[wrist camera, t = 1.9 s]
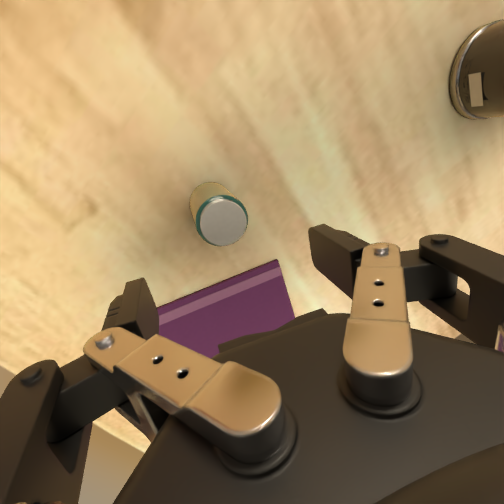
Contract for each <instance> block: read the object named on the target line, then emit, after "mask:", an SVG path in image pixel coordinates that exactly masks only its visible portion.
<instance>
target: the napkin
mask: <svg viewBox="0 0 504 504" xmlns="http://www.w3.org/2000/svg"><path fill="white" fill-rule="evenodd" d="M157 311H158V315H159V335H161V336H163V337H165V338H167V339H169V340H171V341H174V342H176V343H178V344H180V345H182V346H184V347H187V348H189V349H191V350H193V351H195V352H197V353H200V354H202V355H204V356H206V357H208V358H210V359H211V358H212V357H214V356H215V355H217V354H218V353H220V352H219V348H218V344H221V343H224V342H227V341H230V340H233V339H236V338H238V337H241V336H244V335H250V334H255V333H261V332H267V331H273V330H275V329H277V328H279V327H281V326H283V325H284V324H286V323H288V322H290V321H291V320H293V319H295V316H294V313H293V309H292V306H291V303H290V299H289V296H288V293H287V289H286V286H285V283H284V279H283V276H282V272H281V268H280V266H279V263H278V260H277V259H276V260H273V261H271V262H268V263H266V264H263V265H261V266H259V267H256V268H254V269H251V270H249V271H246V272H244V273H241V274H239V275H236V276H234V277H231V278H229V279H227V280H224V281H222V282H219V283H217V284H214V285H212V286H209V287H207V288H204V289H202V290H200V291H197V292H195V293H192V294H190V295H187V296H185V297H182V298H180V299H177V300H175V301H172V302H170V303H168V304H165V305H163V306H160V307H158V308H157Z"/></svg>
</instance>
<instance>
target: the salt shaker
mask: <svg viewBox="0 0 504 504" xmlns="http://www.w3.org/2000/svg"><path fill="white" fill-rule="evenodd" d="M190 209H191V212H192V216H193V219H194V222H195V225H196V228H197V231H198V233H199V235H200V236H201V237H202V239H203V240H205V241H206V242H207V243H209V244H212V245H215V246H227V245H231V244H233V243H235V242H236V241H238V240H239V239H240V238H241V237H242V235H243V234H244V232H245V230H246V228H247V224H248V215H247V211H246V209H245V207H244V205H243V204H242V203H241V202H240V201H239V200H238V199H237V198H236V197H235V196H234V195H233V194H231V193H230V192H229V191H228V190H227V189H226V188H225V187H224V186H222V185H221V184H218V183H215V182H207V183H203V184H201V185H199V186H198V187H197V188H196V189H195V190H194V191H193V192H192V194H191V197H190Z"/></svg>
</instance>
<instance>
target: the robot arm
mask: <svg viewBox="0 0 504 504" xmlns="http://www.w3.org/2000/svg"><path fill="white" fill-rule="evenodd" d="M450 94H451V99H452V102H453V104H454V106H455V108H456V110H457V111H458V112H459V113H460V114H461V115H462V116H464V117H466V118H469V119H486V118H490V117H504V20H499V21H495V22H492V23H490V24H487V25H484V26H482V27H480V28H479V29H477V30H476V31H475V32H473V33H472V34H471V35H470V36H469V37H468V38H467V40H466V41H465V42H464V44H463V45H462V47H461V48H460V50H459V52H458V54H457V56H456V58H455V61H454V64H453V67H452V71H451V77H450ZM308 234H309V241H310V249H311V256H312V261H313V264H314V266H315V267H316V269H317V270H319V271H320V272H321V273H322V274H323V275H324V276H325V277H327V278H328V279H329V280H330V281H331V282H332V283H334V284H335V285H336V286H337V287H338V288H339V289H340V290H342V291H343V292H344V293H345V294H346V295H347V296H349V297H350V298H351V299H352V307H351V313H350V314H346V313H335V314H327V313H326V311H325V310H324V309H323V308H321V309H318V310H316V311H313V312H310V313H307V314H304V315H301V316H298V317H296V318H295V319H293V320H291V321H290V322H288V323H286V324H284V325H283V326H281V327H279V328H277V329H275V330H273V331H267V332H261V333H255V334H250V335H244V336H241V337H238V338H236V339H233V340H230V341H227V342H224V343H221V344H218V348H219V352H220V353H218V354H217V355H215V356H214V357H212V358H211V359H210V358H208V357H206V356H204V355H202V354H200V353H197V352H195V351H193V350H191V349H189V348H187V347H184V346H182V345H180V344H178V343H176V342H174V341H171V340H169V339H167V338H165V337H163V336H161V335H159V315H158V311H157V308H156V305H155V302H154V300H153V297H152V295H151V292H150V290H149V287H148V285H147V282H146V280H145V279H144V278H140V279H136V280H133V281H129V282H127V283H126V285H125V289H124V293H123V295H120V296H117V297H116V298H115V299H114V300H113V301H112V302H111V304H110V306H109V309H108V312H107V315H106V318H105V322H104V325H103V328H102V331H101V332H99V333H97V334H96V335H94V336H93V337H91V338H90V339H89V340H88V341H87V342H86V344H85V345H84V347H83V352H84V355H83V356H81V357H80V358H78V359H76V360H74V361H72V362H70V363H68V364H66V365H64V366H63V367H61V368H59V366H58V364H57V363H56V361H54V360H44V361H40V362H37V363H35V364H33V365H31V366H29V367H27V368H26V369H24V370H23V371H21V372H20V373H19V374H17V375H16V376H15V377H14V378H13V379H12V380H11V381H10V383H9V384H8V386H7V388H6V389H5V391H4V393H3V395H2V396H1V398H0V504H78V500H79V495H80V489H81V484H82V478H83V473H84V468H85V462H86V457H87V451H88V446H89V440H90V435H91V429H92V421H94V420H96V419H97V418H99V417H100V416H102V415H104V414H105V413H107V412H108V411H110V410H112V409H113V408H115V409H116V410H117V411H118V412H119V413H120V414H121V415H122V416H123V417H125V418H126V419H127V420H128V421H129V422H131V423H132V424H133V425H134V426H135V427H136V428H138V429H139V430H140V431H141V432H142V433H143V434H144V435H145V436H146V437H147V438H148V439H149V440H150V442H151V444H150V446H149V447H148V449H147V451H146V452H145V454H144V455H143V457H142V458H141V460H140V462H139V463H138V465H137V466H136V468H135V469H134V471H133V473H132V474H131V476H130V477H129V479H128V481H127V482H126V484H125V485H124V487H123V488H122V490H121V491H120V493H119V495H118V496H117V498H116V499H115V501H114V503H113V504H504V256H503V255H501V254H498V253H495V252H493V251H490V250H488V249H485V248H482V247H480V246H477V245H475V244H472V243H470V242H467V241H464V240H462V239H459V238H457V237H454V236H450V235H443V234H435V235H428V236H425V237H422V238H421V239H420V240H419V249H416V250H409V251H402V252H400V248H399V247H398V246H397V245H394V244H391V243H374V244H369V243H367V242H365V241H363V240H361V239H358V238H357V237H356V236H353V235H352V234H350V233H348V232H346V231H340V230H335V229H333V228H331V227H329V226H328V225H326V224H321V225H318V226H315V227H311V228H309V231H308ZM458 276H459V277H461V278H462V279H464V280H465V281H466V282H467V283H468V285H469V288H470V296H469V295H467V294H466V293H464V292H462V291H460V290H459V289H457V280H458ZM413 301H419V302H420V303H421V304H422V305H423V306H425V307H426V308H427V309H429V310H430V311H431V312H433V313H434V314H436V315H437V316H438V317H440V318H441V319H443V320H444V321H445V322H447V323H448V324H449V325H451V326H452V327H454V328H455V329H456V330H458V331H459V332H460V333H462V334H463V335H465V336H466V337H467V338H469V339H470V340H472V341H473V342H474V343H476V344H473V343H469V342H465V341H461V340H456V339H453V338H449V337H445V336H441V335H437V334H432V333H428V332H424V331H420V330H416V329H412V328H410V322H409V319H408V310H407V302H413Z"/></svg>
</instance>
